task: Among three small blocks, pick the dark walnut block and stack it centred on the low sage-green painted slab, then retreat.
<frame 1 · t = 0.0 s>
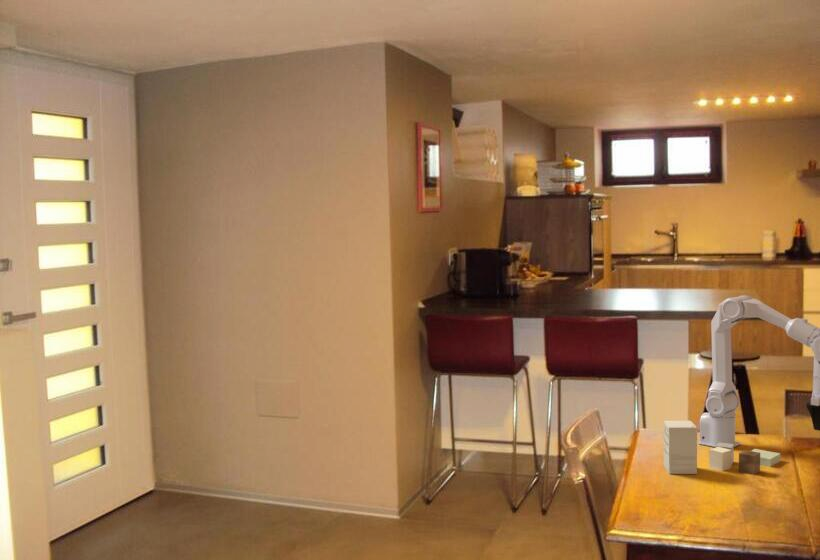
walnut block: (749, 471, 227), on the table
supplement box: (679, 471, 228), on the table
sage slab: (762, 462, 235), on the table
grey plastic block: (724, 463, 234), on the table
cream block: (720, 468, 230), on the table
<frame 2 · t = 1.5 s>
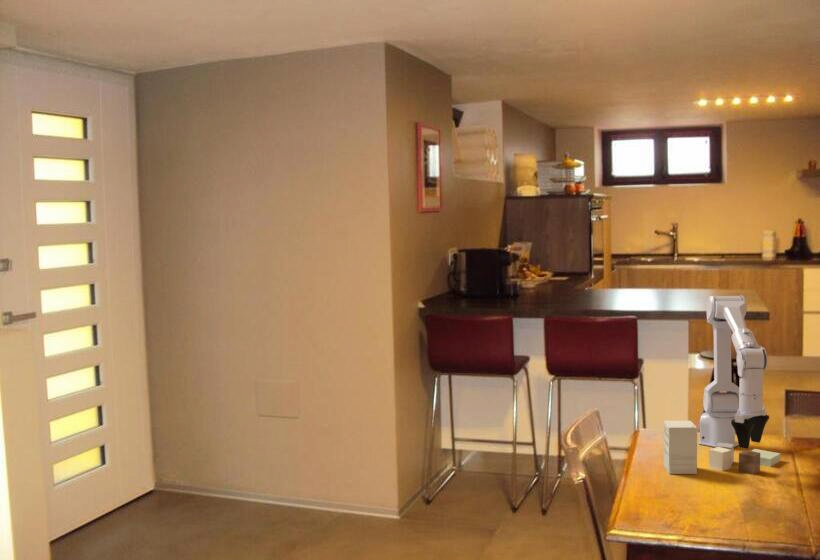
hand: (749, 444, 226), 7 cm above the table, fingers open, 7 cm apart
nothing on the table moved.
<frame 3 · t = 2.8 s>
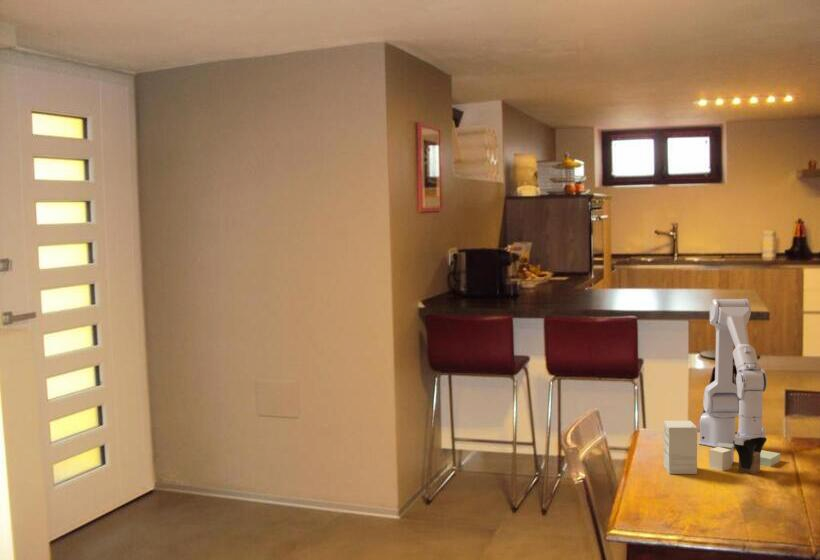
hand: (749, 466, 227), 1 cm above the table, fingers closed on walnut block, 4 cm apart
walnut block: (749, 471, 227), on the table, touching gripper
everything else where it was.
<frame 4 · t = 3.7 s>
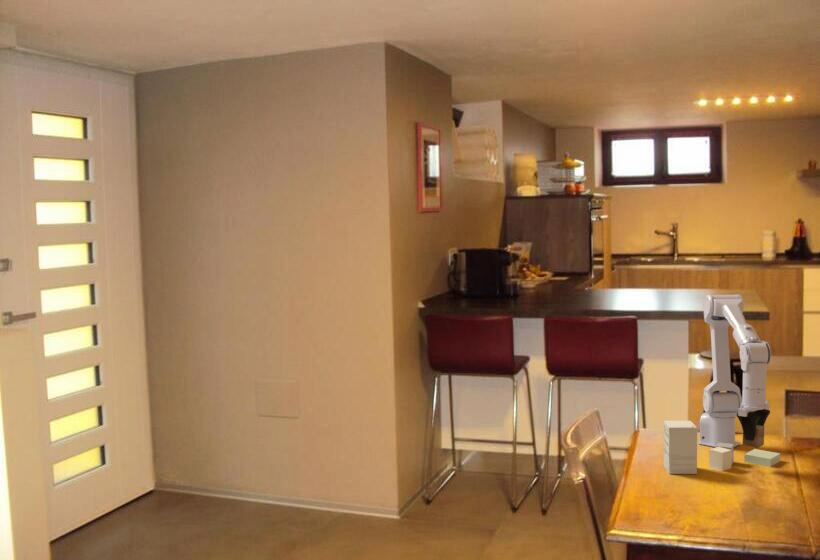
hand: (752, 438, 228), 8 cm above the table, fingers closed on walnut block, 4 cm apart
walnut block: (753, 444, 228), point 6 cm above the table, touching gripper
everything else where it was.
when the fingers open (5 cm above the table, at t = 5.1 s): walnut block drops 1 cm, point 2 cm above the table.
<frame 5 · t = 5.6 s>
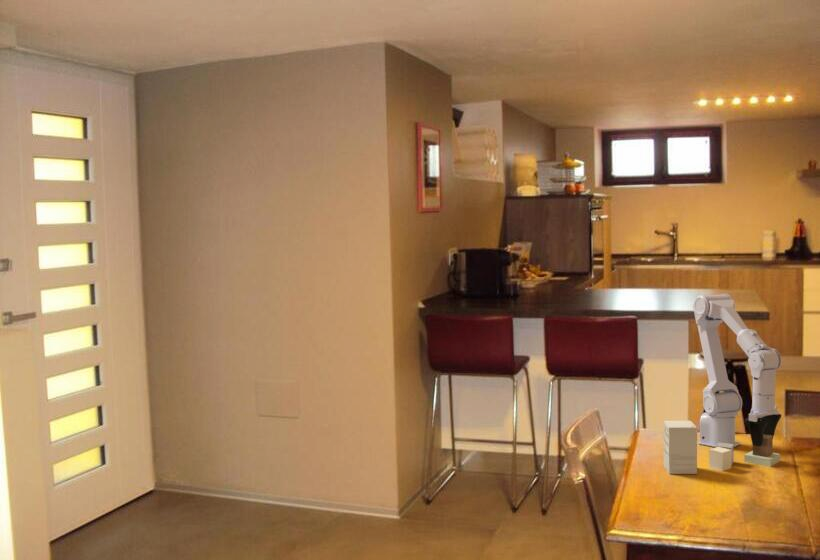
hand: (762, 442, 235), 5 cm above the table, fingers open, 7 cm apart
walnut block: (762, 454, 235), point 2 cm above the table
everything else where it was.
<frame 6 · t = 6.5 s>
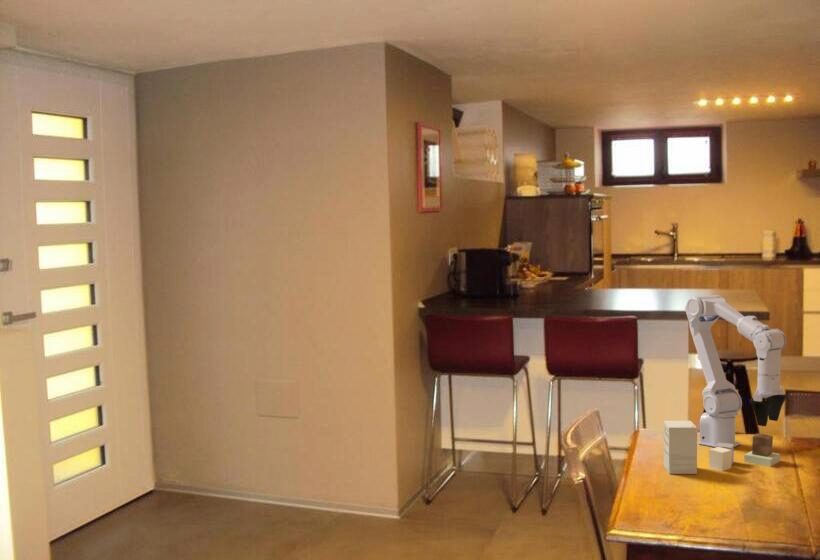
hand: (767, 422, 235), 10 cm above the table, fingers open, 7 cm apart
nothing on the table moved.
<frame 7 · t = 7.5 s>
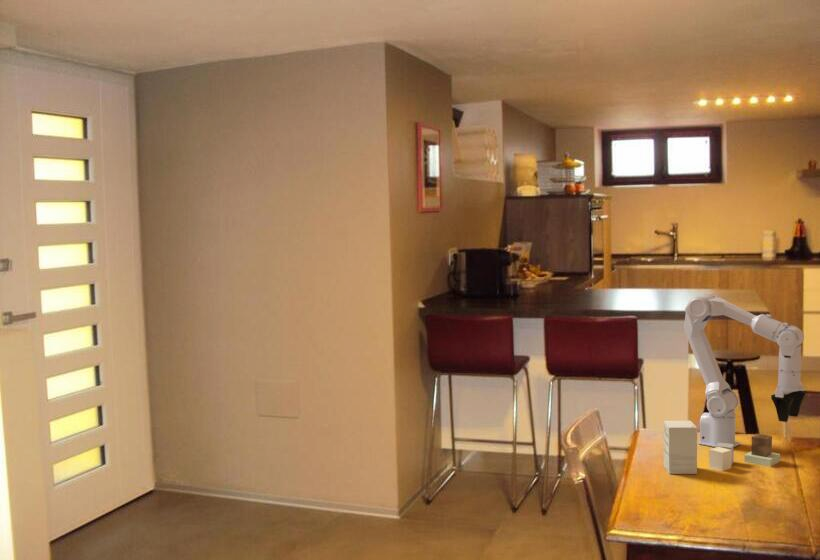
hand: (788, 418, 239), 10 cm above the table, fingers open, 7 cm apart
walnut block: (761, 454, 235), point 2 cm above the table, touching sage slab
sage slab: (762, 463, 235), on the table, touching walnut block
everything else where it was.
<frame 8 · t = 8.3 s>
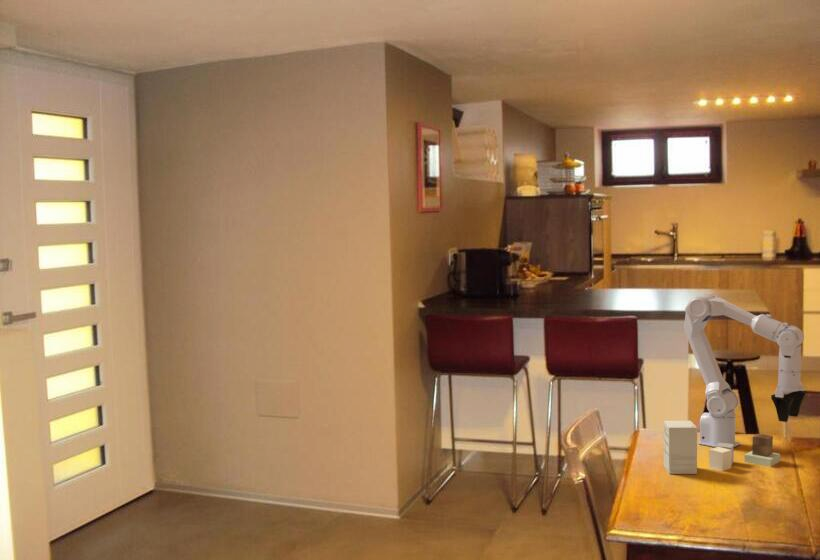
hand: (788, 418, 239), 10 cm above the table, fingers open, 7 cm apart
nothing on the table moved.
at the end: walnut block 0.2 cm off-centre on the sage slab, point 2.5 cm above the sage slab's base; walnut block tilted 0°; the gripper is holding nothing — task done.
